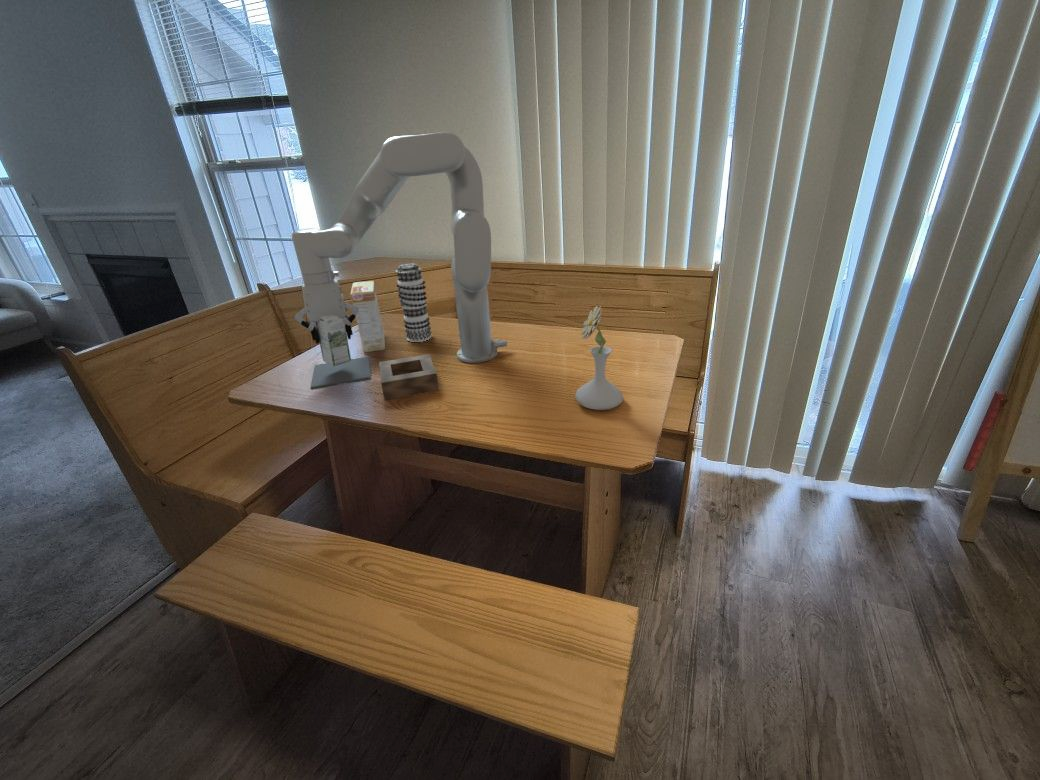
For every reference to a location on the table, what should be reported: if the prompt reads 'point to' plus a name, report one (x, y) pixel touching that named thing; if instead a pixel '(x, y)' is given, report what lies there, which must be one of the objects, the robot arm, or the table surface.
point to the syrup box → (333, 340)
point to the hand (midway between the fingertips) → (333, 339)
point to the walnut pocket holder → (408, 376)
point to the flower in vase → (598, 371)
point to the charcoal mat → (341, 373)
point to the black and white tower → (413, 302)
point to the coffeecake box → (368, 316)
